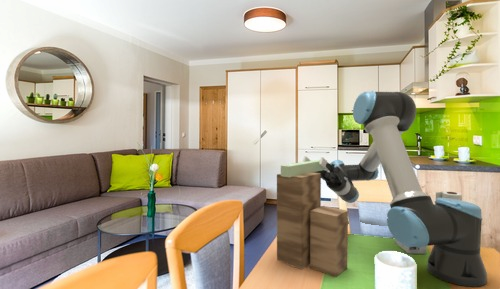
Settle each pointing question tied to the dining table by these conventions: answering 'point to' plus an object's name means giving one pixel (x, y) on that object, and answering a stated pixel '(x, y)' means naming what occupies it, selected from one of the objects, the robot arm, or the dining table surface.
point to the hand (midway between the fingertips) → (312, 160)
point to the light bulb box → (412, 248)
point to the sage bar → (301, 168)
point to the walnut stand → (310, 226)
